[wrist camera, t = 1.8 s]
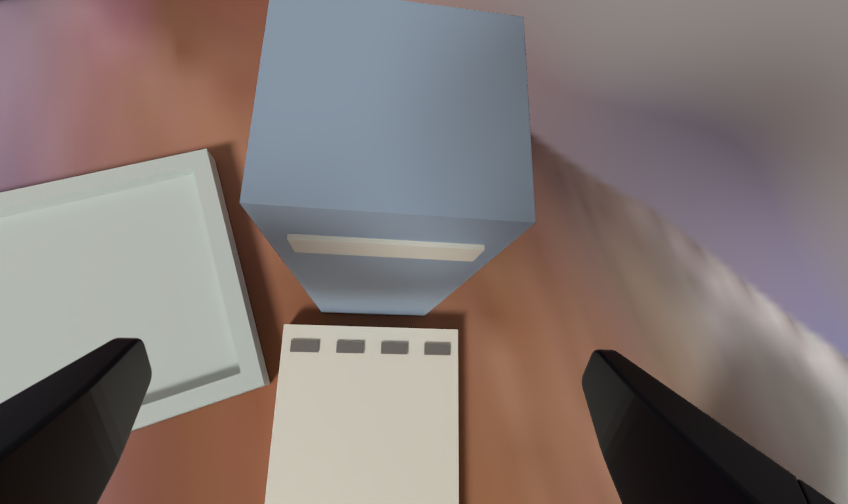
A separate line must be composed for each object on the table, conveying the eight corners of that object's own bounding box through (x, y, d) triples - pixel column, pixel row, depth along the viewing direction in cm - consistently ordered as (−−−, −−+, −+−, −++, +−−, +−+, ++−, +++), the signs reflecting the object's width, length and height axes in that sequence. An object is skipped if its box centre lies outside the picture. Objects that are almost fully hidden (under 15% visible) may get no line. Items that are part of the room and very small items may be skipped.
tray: (270, 383, 19) (264, 385, 18) (-29, 486, 16) (-58, 495, 15) (214, 160, 21) (206, 148, 20) (-53, 219, 19) (-80, 209, 18)
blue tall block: (424, 318, 21) (535, 228, 7) (321, 314, 20) (238, 209, 7) (425, 230, 22) (523, 16, 9) (329, 224, 21) (271, -18, 8)
